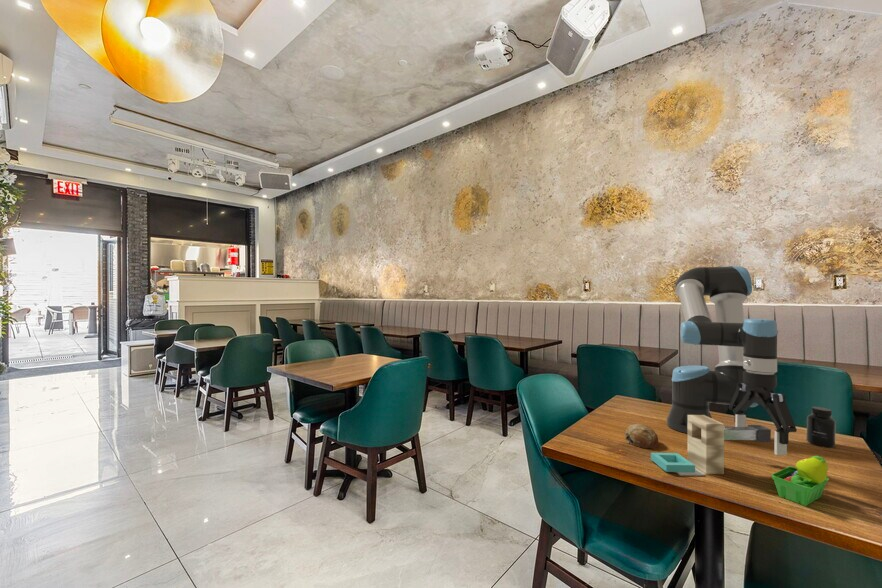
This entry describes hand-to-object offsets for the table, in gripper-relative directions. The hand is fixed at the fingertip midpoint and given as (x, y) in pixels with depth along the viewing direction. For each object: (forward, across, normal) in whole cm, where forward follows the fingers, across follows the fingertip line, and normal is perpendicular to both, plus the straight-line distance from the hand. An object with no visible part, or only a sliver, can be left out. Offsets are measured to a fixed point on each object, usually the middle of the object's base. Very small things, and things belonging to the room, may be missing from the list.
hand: (759, 444), depth 108 cm
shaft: (-1, 0, -7) cm, 7 cm away
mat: (+7, 0, -23) cm, 24 cm away
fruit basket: (+7, +16, -3) cm, 18 cm away
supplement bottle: (+7, -18, +36) cm, 41 cm away
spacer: (+5, 0, -21) cm, 22 cm away
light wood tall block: (+7, 0, -16) cm, 17 cm away
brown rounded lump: (+7, -18, -24) cm, 31 cm away
